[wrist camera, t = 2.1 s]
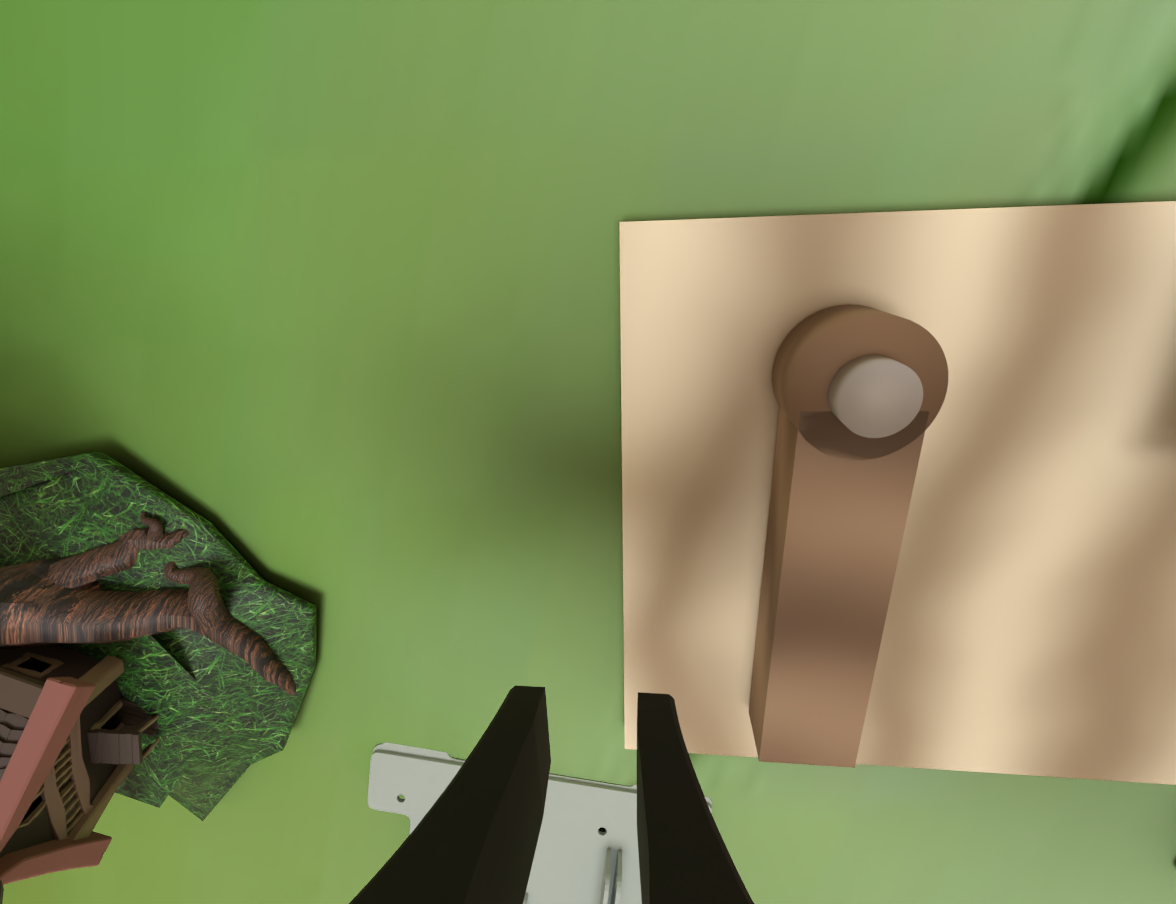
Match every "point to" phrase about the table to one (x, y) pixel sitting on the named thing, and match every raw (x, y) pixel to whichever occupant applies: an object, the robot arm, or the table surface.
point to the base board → (923, 478)
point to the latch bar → (836, 522)
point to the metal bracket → (568, 831)
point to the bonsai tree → (128, 658)
